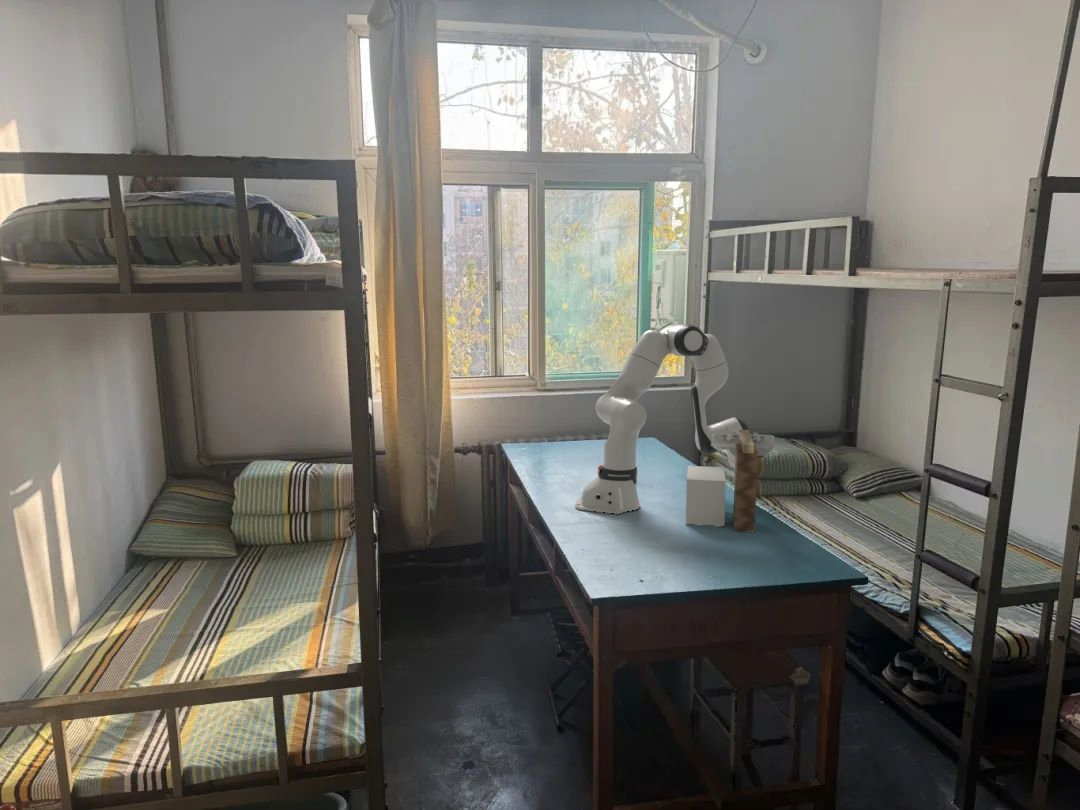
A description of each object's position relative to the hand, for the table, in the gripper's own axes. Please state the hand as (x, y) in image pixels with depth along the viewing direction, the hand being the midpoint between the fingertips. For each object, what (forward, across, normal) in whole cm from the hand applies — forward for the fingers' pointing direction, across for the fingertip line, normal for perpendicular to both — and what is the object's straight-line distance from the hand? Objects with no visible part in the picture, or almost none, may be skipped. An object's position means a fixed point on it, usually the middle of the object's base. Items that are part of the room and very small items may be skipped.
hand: (744, 434), depth 237 cm
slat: (+6, 0, +6) cm, 8 cm away
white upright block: (-11, -12, +26) cm, 30 cm away
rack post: (-4, 0, +30) cm, 30 cm away
